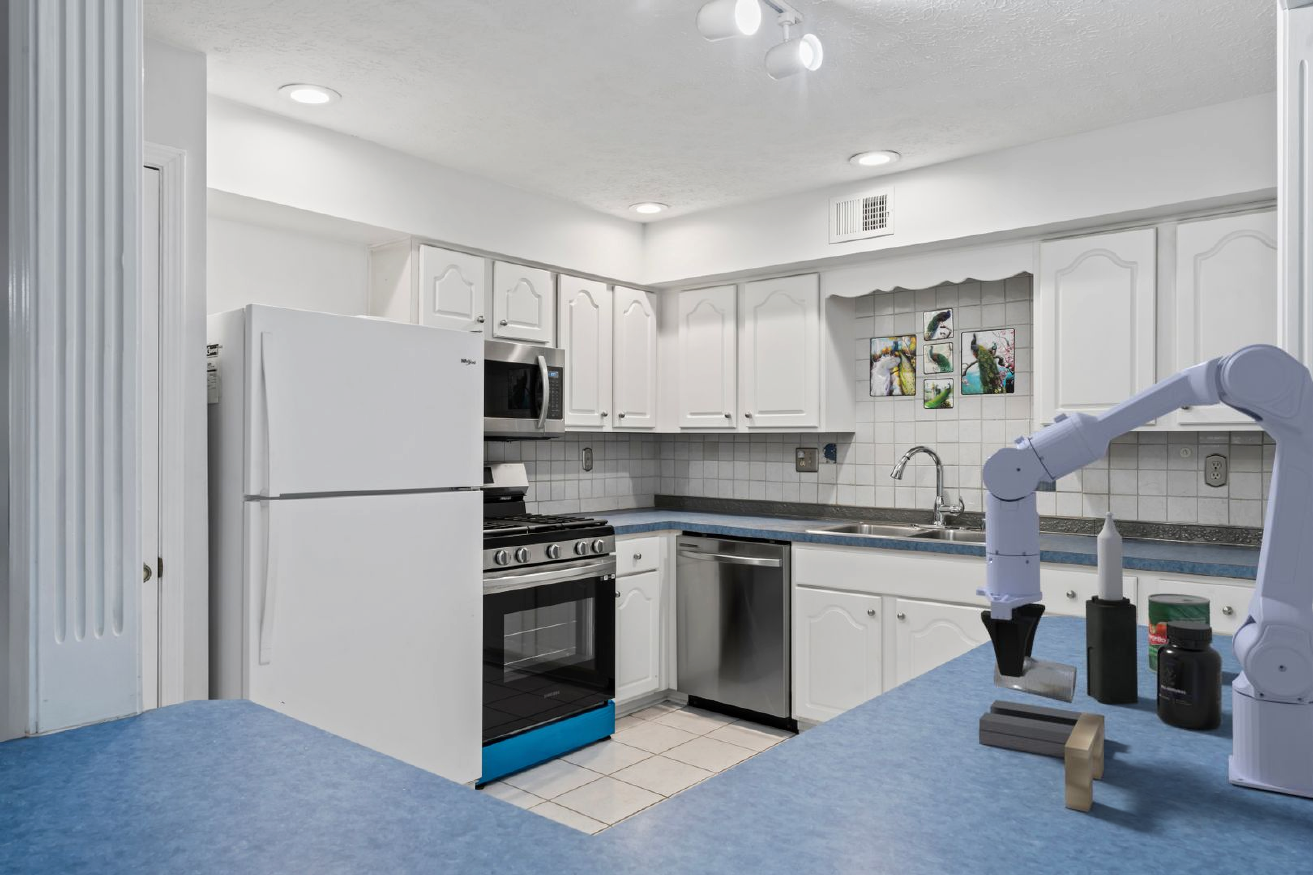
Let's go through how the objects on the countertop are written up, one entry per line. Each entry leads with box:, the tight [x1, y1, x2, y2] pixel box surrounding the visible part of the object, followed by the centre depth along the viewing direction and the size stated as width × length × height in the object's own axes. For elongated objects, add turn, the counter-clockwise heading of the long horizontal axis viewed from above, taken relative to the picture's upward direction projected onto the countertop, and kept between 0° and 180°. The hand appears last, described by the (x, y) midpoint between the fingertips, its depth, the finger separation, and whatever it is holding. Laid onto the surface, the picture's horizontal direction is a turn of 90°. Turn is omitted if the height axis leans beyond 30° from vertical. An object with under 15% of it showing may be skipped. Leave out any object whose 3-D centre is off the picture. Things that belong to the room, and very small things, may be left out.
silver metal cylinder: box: [993, 656, 1077, 704], centre depth 98 cm, size 8×4×4 cm, turn 57°
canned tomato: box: [1147, 593, 1211, 675], centre depth 128 cm, size 8×8×11 cm
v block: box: [978, 699, 1106, 759], centre depth 100 cm, size 12×9×3 cm
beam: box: [1064, 711, 1105, 813], centre depth 87 cm, size 2×12×6 cm, turn 147°
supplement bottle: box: [1156, 621, 1223, 732], centre depth 106 cm, size 7×7×12 cm
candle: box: [1085, 511, 1139, 705], centre depth 116 cm, size 5×5×25 cm
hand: (1014, 670), depth 99 cm, fingers closed on silver metal cylinder, 4 cm apart
